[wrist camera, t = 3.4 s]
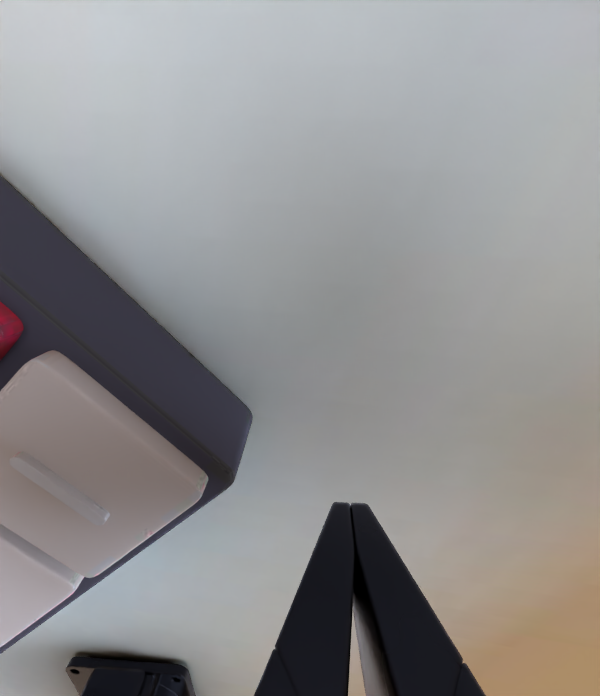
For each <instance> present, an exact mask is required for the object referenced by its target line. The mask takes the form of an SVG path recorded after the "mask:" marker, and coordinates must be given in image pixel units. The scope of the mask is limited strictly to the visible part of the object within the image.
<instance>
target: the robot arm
mask: <svg viewBox="0 0 600 696" xmlns="http://www.w3.org/2000/svg"><path fill="white" fill-rule="evenodd" d="M352 608H353V612H354V620H355V627H356V633H357V640H358V647H359V653H360V660H361V666H362V673H363V680H364V686H365V693H366V696H486V695H485V694H484V692H483V690H482V689H481V687H480V686H479V684H478V682H477V681H476V679H475V677H474V676H473V674H472V673H471V671H470V669H469V668H468V666H467V665H466V664H465V663H462V662H463V659H462V657H461V655H460V653H459V652H458V650H457V649H456V647H455V645H454V644H453V642H452V640H451V639H450V637H449V636H448V634H447V632H446V631H445V629H444V627H443V626H442V624H441V623H440V621H439V619H438V618H437V616H436V614H435V613H434V611H433V610H432V608H431V606H430V605H429V603H428V601H427V600H426V598H425V597H424V595H423V593H422V592H421V590H420V588H419V587H418V585H417V584H416V582H415V580H414V579H413V577H412V575H411V574H410V572H409V571H408V569H407V567H406V566H405V564H404V562H403V561H402V559H401V558H400V556H399V554H398V553H397V551H396V549H395V548H394V546H393V545H392V543H391V541H390V540H389V538H388V536H387V535H386V533H385V532H384V530H383V528H382V527H381V525H380V523H379V522H378V520H377V519H376V517H375V515H374V514H373V512H372V510H371V509H370V507H369V506H368V505H367V504H365V503H352V504H351V505H350V504H349V503H344V502H334V503H333V504H332V506H331V509H330V511H329V514H328V516H327V519H326V521H325V524H324V526H323V529H322V531H321V534H320V536H319V538H318V541H317V543H316V546H315V548H314V551H313V553H312V556H311V558H310V561H309V563H308V566H307V568H306V571H305V573H304V575H303V578H302V580H301V583H300V585H299V588H298V590H297V593H296V595H295V598H294V600H293V603H292V605H291V608H290V610H289V613H288V615H287V617H286V620H285V622H284V625H283V627H282V630H281V632H280V635H279V637H278V640H277V642H276V645H275V649H274V650H273V651H272V654H271V656H270V659H269V661H268V664H267V666H266V669H265V671H264V673H263V676H262V678H261V680H260V683H259V685H258V687H257V689H256V692H255V694H254V696H348V682H349V664H350V645H351V627H352ZM66 672H67V673H68V675H69V677H70V679H71V680H72V682H73V684H74V686H75V688H76V689H77V691H78V693H79V695H80V696H196V695H195V692H194V688H193V685H192V682H191V678H190V675H189V671H188V669H187V668H186V667H184V666H182V665H177V664H164V663H151V662H138V661H125V660H113V659H100V658H87V657H73V658H72V659H71V660H70V662H69V664H68V666H67V667H66Z"/></svg>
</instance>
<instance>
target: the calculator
mask: <svg viewBox="0 0 600 696" xmlns="http://www.w3.org/2000/svg"><path fill="white" fill-rule="evenodd" d="M251 423H252V413H251V411H250V410H249V409H248V408H247V407H246V406H245V405H244V404H243V403H242V402H241V401H240V400H239V399H238V398H237V397H236V396H235V395H234V394H233V393H232V392H231V391H230V390H228V389H227V388H226V387H225V386H224V385H223V384H222V383H221V382H220V381H219V380H218V379H217V378H216V377H215V376H214V375H213V374H211V373H210V372H209V371H208V370H207V369H206V368H205V367H204V366H203V365H202V364H201V363H200V362H199V361H198V360H197V359H195V358H194V357H193V356H192V355H191V354H190V353H189V352H188V351H187V350H186V349H185V348H184V347H183V346H182V345H181V344H179V343H178V342H177V341H176V340H175V339H174V338H173V337H172V336H171V335H170V334H169V333H168V332H167V331H166V330H165V329H163V328H162V327H161V326H160V325H159V324H158V323H157V322H156V321H155V320H154V319H153V318H152V317H151V316H150V315H149V314H147V313H146V312H145V311H144V310H143V309H142V308H141V307H140V306H139V305H138V304H137V303H136V302H135V301H134V300H133V299H132V298H130V297H129V296H128V295H127V294H126V293H125V292H124V291H123V290H122V289H121V288H120V287H119V286H118V285H117V284H116V283H114V282H113V281H112V280H111V279H110V278H109V277H108V276H107V275H106V274H105V273H104V272H103V271H102V270H101V269H100V268H98V267H97V266H96V265H95V264H94V263H93V262H92V261H91V260H90V259H89V258H88V257H87V256H86V255H85V254H84V253H82V252H81V251H80V250H79V249H78V248H77V247H76V246H75V245H74V244H73V243H72V242H71V241H70V240H69V239H68V238H67V237H65V236H64V235H63V234H62V233H61V232H60V231H59V230H58V229H57V228H56V227H55V226H54V225H53V224H52V223H51V222H49V221H48V220H47V219H46V218H45V217H44V216H43V215H42V214H41V213H40V212H39V211H38V210H37V209H36V208H35V207H33V206H32V205H31V204H30V203H29V202H28V201H27V200H26V199H25V198H24V197H23V196H22V195H21V194H20V193H19V192H17V191H16V190H15V189H14V188H13V187H12V186H11V185H10V184H9V183H8V182H7V181H6V180H5V179H4V178H3V177H2V176H0V654H1V653H2V652H3V651H5V650H6V649H8V648H9V647H10V646H12V645H13V644H14V643H16V642H17V641H19V640H20V639H21V638H23V637H24V636H25V635H27V634H28V633H30V632H31V631H32V630H34V629H35V628H36V627H38V626H39V625H41V624H42V623H43V622H45V621H46V620H47V619H49V618H50V617H52V616H53V615H54V614H56V613H57V612H58V611H60V610H61V609H63V608H64V607H65V606H67V605H68V604H69V603H71V602H72V601H74V600H75V599H76V598H78V597H79V596H80V595H82V594H83V593H85V592H86V591H87V590H89V589H90V588H91V587H93V586H94V585H96V584H97V583H98V582H100V581H101V580H102V579H104V578H105V577H107V576H108V575H109V574H111V573H112V572H113V571H115V570H116V569H118V568H119V567H120V566H122V565H123V564H124V563H126V562H127V561H128V560H130V559H131V558H133V557H134V556H135V555H137V554H138V553H139V552H141V551H142V550H144V549H145V548H146V547H148V546H149V545H150V544H152V543H153V542H155V541H156V540H157V539H159V538H160V537H161V536H163V535H164V534H166V533H167V532H168V531H170V530H171V529H172V528H174V527H175V526H177V525H178V524H179V523H181V522H182V521H183V520H185V519H186V518H188V517H189V516H190V515H192V514H193V513H194V512H196V511H197V510H199V509H200V508H201V507H203V506H204V505H205V504H207V503H208V502H210V501H211V500H212V499H214V498H215V497H216V496H218V495H219V494H221V493H222V492H223V491H225V490H226V489H227V488H228V487H229V486H231V485H232V483H233V482H234V479H235V476H236V473H237V470H238V467H239V464H240V460H241V457H242V454H243V450H244V447H245V443H246V440H247V436H248V433H249V430H250V426H251Z"/></svg>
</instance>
